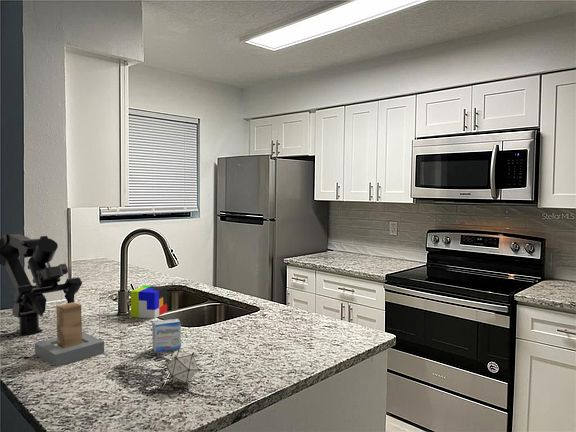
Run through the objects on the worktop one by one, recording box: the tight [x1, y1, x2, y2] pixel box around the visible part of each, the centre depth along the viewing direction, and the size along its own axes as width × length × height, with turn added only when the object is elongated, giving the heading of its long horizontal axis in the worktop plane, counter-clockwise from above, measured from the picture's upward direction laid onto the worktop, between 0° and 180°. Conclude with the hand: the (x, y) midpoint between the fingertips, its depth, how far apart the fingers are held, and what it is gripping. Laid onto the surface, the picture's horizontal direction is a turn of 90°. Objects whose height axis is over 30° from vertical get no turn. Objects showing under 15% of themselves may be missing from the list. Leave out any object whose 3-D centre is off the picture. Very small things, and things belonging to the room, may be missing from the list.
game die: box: [162, 349, 203, 387], centre depth 113 cm, size 9×8×10 cm
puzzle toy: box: [130, 285, 168, 320], centre depth 173 cm, size 10×10×10 cm
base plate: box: [34, 331, 105, 368], centre depth 132 cm, size 14×14×4 cm
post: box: [55, 301, 83, 349], centre depth 132 cm, size 5×5×12 cm
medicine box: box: [151, 318, 182, 354], centre depth 137 cm, size 8×4×9 cm, turn 117°
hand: (58, 312), depth 136 cm, fingers open, 9 cm apart
